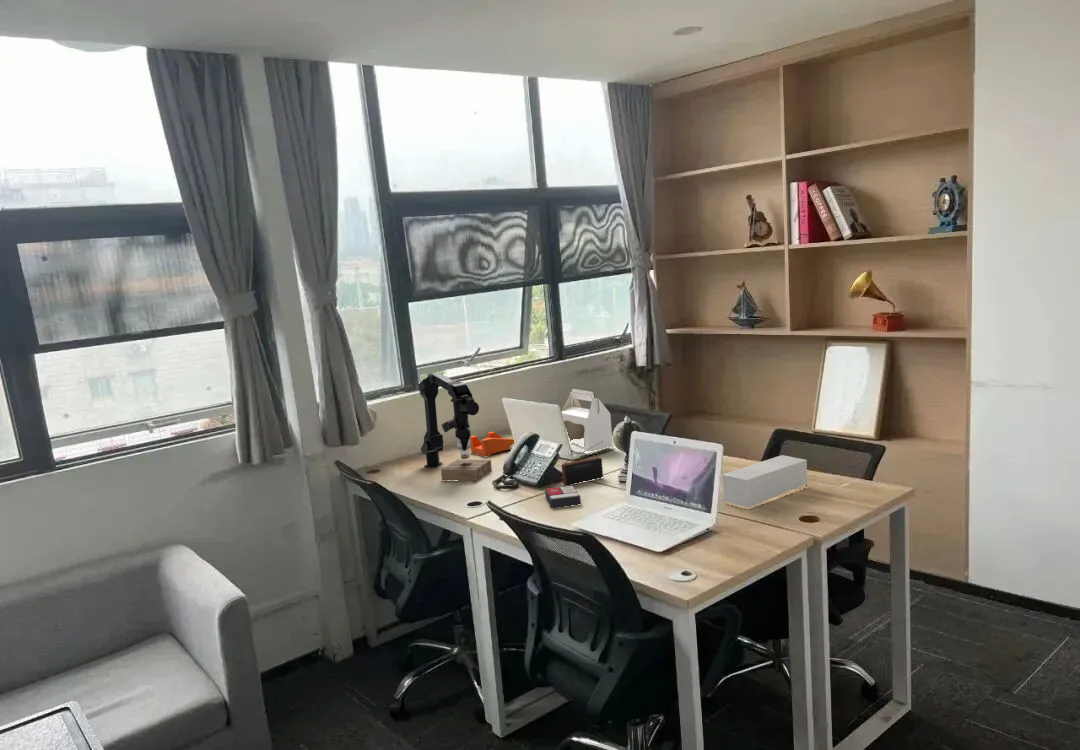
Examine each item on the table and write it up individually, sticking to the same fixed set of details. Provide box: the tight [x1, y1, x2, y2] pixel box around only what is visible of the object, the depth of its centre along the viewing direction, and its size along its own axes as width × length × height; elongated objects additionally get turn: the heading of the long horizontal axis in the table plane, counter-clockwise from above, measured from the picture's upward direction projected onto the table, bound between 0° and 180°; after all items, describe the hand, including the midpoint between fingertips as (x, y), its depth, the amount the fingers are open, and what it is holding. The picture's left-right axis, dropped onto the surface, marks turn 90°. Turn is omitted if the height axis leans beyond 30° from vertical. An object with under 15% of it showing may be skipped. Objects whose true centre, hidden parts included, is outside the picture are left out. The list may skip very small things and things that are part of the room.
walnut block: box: [440, 458, 492, 482], centre depth 330 cm, size 16×16×5 cm
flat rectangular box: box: [544, 485, 582, 509], centre depth 286 cm, size 11×4×15 cm
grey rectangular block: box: [721, 454, 808, 507], centre depth 272 cm, size 32×11×11 cm, turn 125°
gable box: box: [560, 388, 614, 451], centre depth 357 cm, size 22×13×28 cm, turn 34°
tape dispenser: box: [469, 431, 514, 457], centre depth 370 cm, size 18×13×8 cm
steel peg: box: [456, 438, 471, 459], centre depth 329 cm, size 6×6×8 cm
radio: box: [561, 441, 604, 486], centre depth 307 cm, size 19×3×15 cm, turn 114°
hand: (464, 448), depth 329 cm, fingers closed on steel peg, 6 cm apart
